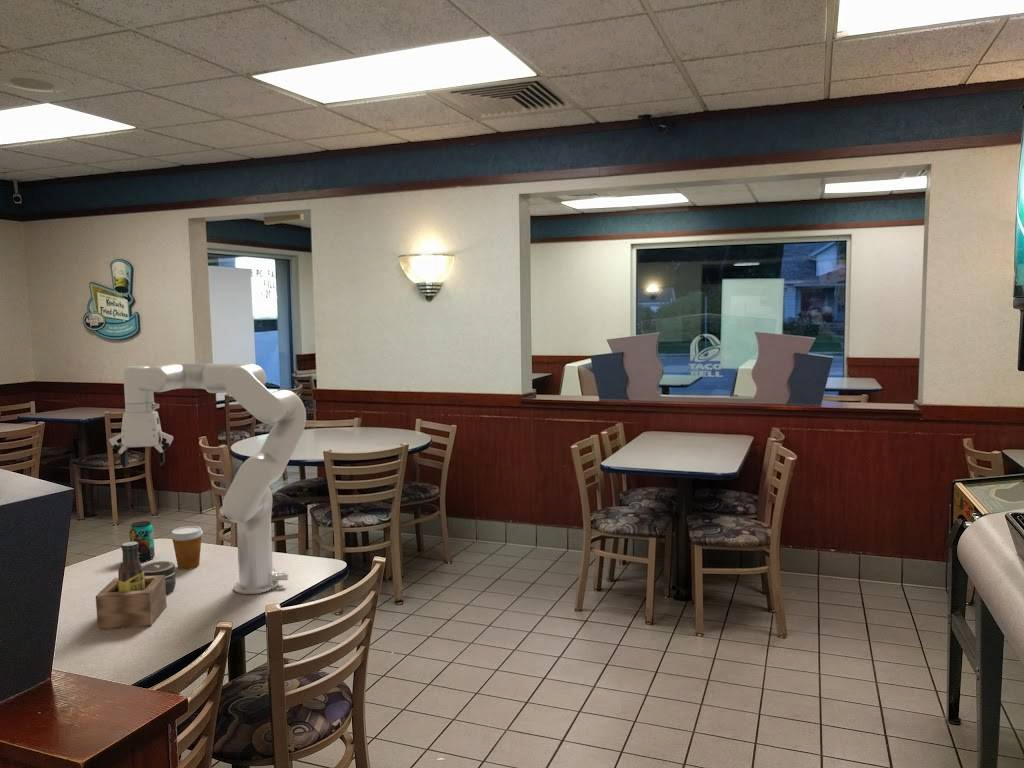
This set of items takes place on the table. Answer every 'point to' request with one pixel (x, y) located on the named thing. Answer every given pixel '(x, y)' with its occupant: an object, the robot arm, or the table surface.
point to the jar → (162, 572)
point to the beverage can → (143, 539)
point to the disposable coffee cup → (187, 546)
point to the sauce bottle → (130, 569)
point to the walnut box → (131, 604)
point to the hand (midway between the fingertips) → (143, 465)
